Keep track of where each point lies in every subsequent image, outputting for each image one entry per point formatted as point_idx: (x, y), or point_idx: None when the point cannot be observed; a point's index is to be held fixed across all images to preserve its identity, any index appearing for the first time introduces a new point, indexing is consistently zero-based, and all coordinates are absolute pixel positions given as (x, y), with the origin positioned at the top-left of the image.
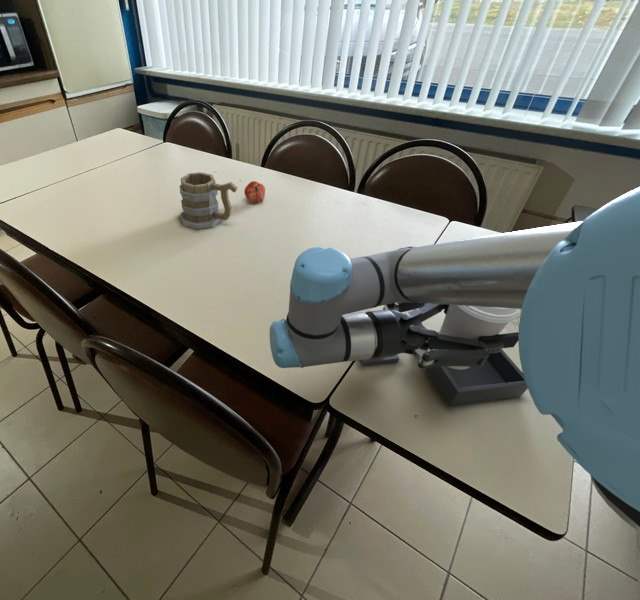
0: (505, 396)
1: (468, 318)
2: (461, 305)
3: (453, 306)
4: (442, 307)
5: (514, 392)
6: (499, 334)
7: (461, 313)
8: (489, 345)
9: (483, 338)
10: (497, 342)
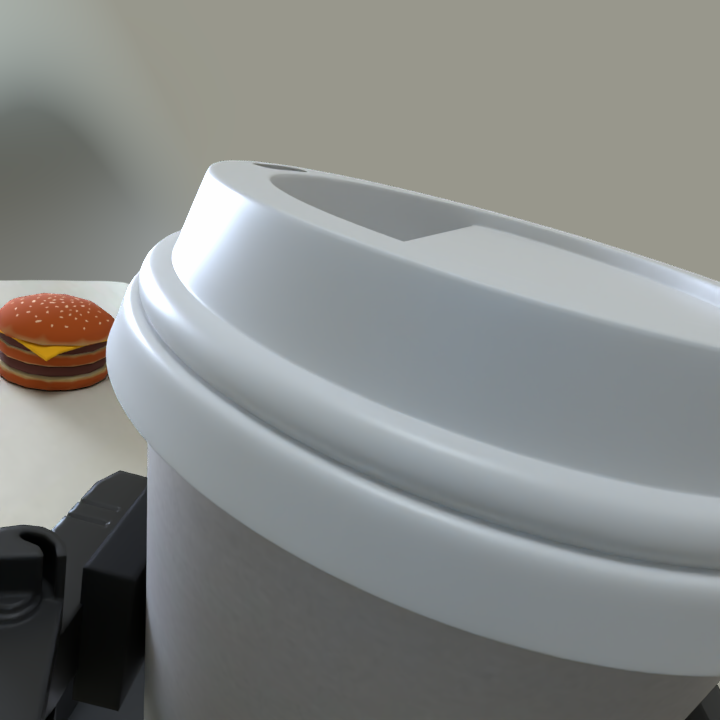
0: None
1: (691, 691)
2: (682, 610)
3: (368, 673)
4: (53, 687)
5: None
6: None
7: (598, 705)
8: (711, 716)
9: (692, 713)
10: None
